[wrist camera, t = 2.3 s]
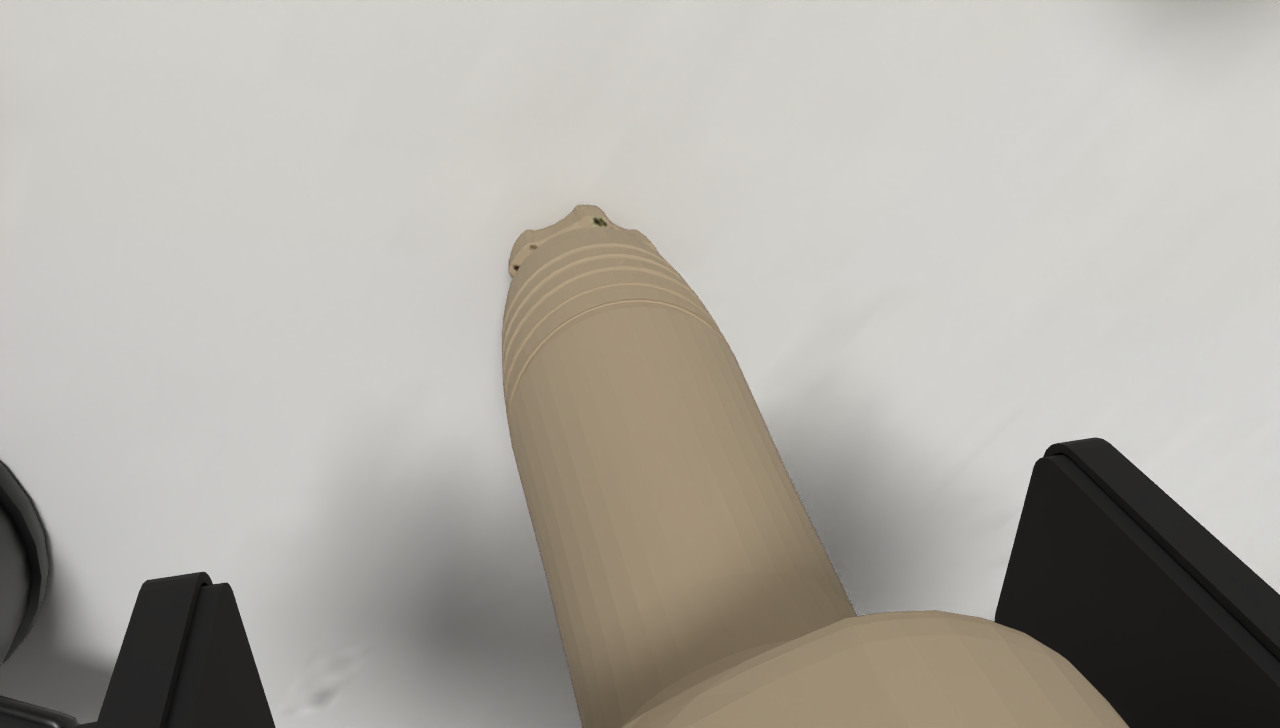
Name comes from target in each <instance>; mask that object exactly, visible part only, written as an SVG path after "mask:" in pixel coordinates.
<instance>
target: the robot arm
mask: <svg viewBox="0 0 1280 728" xmlns="http://www.w3.org/2000/svg"><path fill="white" fill-rule="evenodd" d="M995 623H998V624H1001V625H1004V626H1006V627H1009V628H1012V629H1015V630H1018V631H1021V632H1023V633H1026V634H1027V635H1029V636H1031V637H1032V638H1034V639H1036V640H1037V641H1039V642H1040V643H1042V644H1044V645H1045V646H1047V647H1049V648H1050V649H1052V650H1054V651H1055V652H1057V653H1059V654H1060V655H1061V656H1063V657H1064V658H1065V659H1067V660H1068V661H1069V662H1070V663H1071V664H1072V665H1073V666H1074V667H1075V668H1076V669H1077V670H1078V671H1079V672H1080V673H1081V674H1082V675H1083V676H1084V677H1085V678H1086V679H1087V680H1088V681H1089V682H1090V683H1091V684H1092V685H1093V687H1094V688H1095V689H1096V690H1097V691H1098V692H1099V693H1100V694H1101V695H1102V696H1103V697H1104V698H1105V699H1106V700H1107V701H1108V702H1109V703H1110V705H1111V706H1112V707H1113V708H1114V709H1115V711H1116V712H1117V713H1118V714H1119V715H1120V717H1121V718H1122V719H1123V720H1124V722H1125V723H1126V724H1127V725H1128V726H1129V728H1280V595H1279V594H1278V593H1277V592H1276V591H1275V590H1274V589H1273V588H1271V587H1270V586H1269V585H1268V584H1267V583H1266V582H1265V581H1264V580H1262V579H1261V578H1260V577H1259V576H1258V575H1257V574H1256V573H1255V572H1253V571H1252V570H1251V569H1250V568H1249V567H1248V566H1247V565H1246V564H1244V563H1243V562H1242V561H1241V560H1240V559H1239V558H1238V557H1237V556H1236V555H1234V554H1233V553H1232V552H1231V551H1230V550H1229V549H1228V548H1227V547H1225V546H1224V545H1223V544H1222V543H1221V542H1220V541H1219V540H1218V539H1216V538H1215V537H1214V536H1213V535H1212V534H1211V533H1210V532H1209V531H1208V530H1206V529H1205V528H1204V527H1203V526H1202V525H1201V524H1200V523H1199V522H1197V521H1196V520H1195V519H1194V518H1193V517H1192V516H1191V515H1190V514H1188V513H1187V512H1186V511H1185V510H1184V509H1183V508H1182V507H1181V506H1179V505H1178V504H1177V503H1176V502H1175V501H1174V500H1173V499H1172V498H1171V497H1169V496H1168V495H1167V494H1166V493H1165V492H1164V491H1163V490H1162V489H1160V488H1159V487H1158V486H1157V485H1156V484H1155V483H1154V482H1153V481H1151V480H1150V479H1149V478H1148V477H1147V476H1146V475H1145V474H1144V473H1143V472H1141V471H1140V470H1139V469H1138V468H1137V467H1136V466H1135V465H1134V464H1132V463H1131V462H1130V461H1129V460H1128V459H1127V458H1126V457H1125V456H1123V455H1122V454H1121V453H1120V452H1119V451H1118V450H1117V449H1116V448H1115V447H1113V446H1112V445H1111V444H1110V443H1108V442H1107V441H1105V440H1104V439H1101V438H1089V439H1083V440H1076V441H1069V442H1063V443H1057V444H1053V445H1051V446H1050V447H1049V448H1048V449H1047V450H1046V452H1045V454H1044V457H1043V458H1040V459H1039V460H1038V461H1037V462H1036V463H1035V465H1034V468H1033V472H1032V476H1031V479H1030V483H1029V487H1028V491H1027V495H1026V498H1025V502H1024V506H1023V510H1022V514H1021V518H1020V521H1019V525H1018V529H1017V533H1016V537H1015V541H1014V544H1013V548H1012V552H1011V556H1010V560H1009V564H1008V567H1007V571H1006V575H1005V579H1004V583H1003V586H1002V590H1001V594H1000V598H999V602H998V606H997V609H996V614H995ZM69 728H275V724H274V721H273V718H272V715H271V712H270V709H269V705H268V702H267V699H266V696H265V693H264V689H263V686H262V683H261V680H260V677H259V673H258V670H257V667H256V664H255V661H254V658H253V654H252V651H251V648H250V645H249V642H248V638H247V635H246V632H245V629H244V626H243V623H242V619H241V616H240V613H239V610H238V607H237V603H236V600H235V597H234V594H233V591H232V588H231V586H230V585H229V584H228V583H220V584H213V583H212V581H211V579H210V577H209V575H208V574H207V573H206V572H199V573H192V574H185V575H179V576H172V577H165V578H159V579H152V580H147V581H146V582H144V583H143V585H142V587H141V589H140V591H139V594H138V597H137V600H136V603H135V606H134V609H133V612H132V615H131V619H130V622H129V625H128V628H127V631H126V634H125V637H124V640H123V643H122V646H121V650H120V653H119V656H118V659H117V662H116V665H115V668H114V671H113V674H112V677H111V680H110V684H109V687H108V690H107V693H106V696H105V699H104V702H103V705H102V708H101V711H100V714H99V718H98V721H97V722H92V723H86V724H81V725H76V726H72V727H69Z"/></svg>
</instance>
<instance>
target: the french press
mask: <svg viewBox="0 0 1280 728" xmlns="http://www.w3.org/2000/svg"><path fill="white" fill-rule="evenodd" d="M48 571H49V560H48V554H47V548H46V543H45V537H44V531H43V529H42V527H41V524H40V522H39V520H38V518H37V515H36V513H35V511H34V509H33V506H32V504H31V502H30V500H29V498H28V497H27V495H26V494H25V493H24V491H23V490H22V489H21V487H20V486H19V485H18V483H17V482H16V481H15V479H14V478H13V477H12V475H11V474H10V473H9V471H8V470H7V469H6V467H5V466H4V465H3V464H2V463H1V462H0V666H1V664H2V663H4V662H5V661H6V660H7V659H9V657H10V656H11V655H12V654H13V652H14V651H15V650H16V649H17V648H18V646H19V645H20V644H21V643H22V641H23V640H24V639H25V638H26V636H27V635H28V634H29V632H30V630H31V628H32V626H33V624H34V622H35V620H36V617H37V615H38V613H39V610H40V608H41V606H42V603H43V601H44V599H45V596H46V588H47V579H48ZM76 725H79V723H78V722H77V720H76V718H74V717H72V716H70V715H67V714H64V713H61V712H58V711H54V710H50V709H47V708H43V707H40V706H36V705H32V704H29V703H25V702H21V701H18V700H14V699H11V698H7V697H3V696H0V728H69V727H72V726H76Z"/></svg>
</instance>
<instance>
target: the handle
mask: <svg viewBox="0 0 1280 728" xmlns="http://www.w3.org/2000/svg"><path fill="white" fill-rule="evenodd" d="M509 273H510V275H511V276H512V277H513V279H512V282H511V285H510V288H509V291H508V296H507V301H506V305H505V311H504V317H503V330H502V365H503V386H504V397H505V404H506V412H507V419H508V425H509V430H510V438H511V443H512V448H513V452H514V456H515V460H516V463H517V467H518V471H519V475H520V479H521V482H522V486H523V490H524V494H525V498H526V501H527V505H528V509H529V513H530V517H531V520H532V524H533V528H534V532H535V536H536V539H537V543H538V547H539V551H540V555H541V558H542V562H543V566H544V570H545V574H546V577H547V581H548V586H549V590H550V594H551V598H552V602H553V606H554V610H555V615H556V619H557V623H558V627H559V631H560V635H561V640H562V644H563V648H564V652H565V656H566V660H567V664H568V669H569V673H570V677H571V681H572V685H573V689H574V693H575V698H576V702H577V706H578V710H579V714H580V718H581V723H582V727H583V728H1129V726H1128V725H1127V724H1126V723H1125V722H1124V720H1123V719H1122V718H1121V717H1120V715H1119V714H1118V713H1117V712H1116V711H1115V709H1114V708H1113V707H1112V706H1111V705H1110V703H1109V702H1108V701H1107V700H1106V699H1105V698H1104V697H1103V696H1102V695H1101V694H1100V693H1099V692H1098V691H1097V690H1096V689H1095V688H1094V687H1093V685H1092V684H1091V683H1090V682H1089V681H1088V680H1087V679H1086V678H1085V677H1084V676H1083V675H1082V674H1081V673H1080V672H1079V671H1078V670H1077V669H1076V668H1075V667H1074V666H1073V665H1072V664H1071V663H1070V662H1069V661H1068V660H1067V659H1065V658H1064V657H1063V656H1061V655H1060V654H1059V653H1057V652H1055V651H1054V650H1052V649H1050V648H1049V647H1047V646H1045V645H1044V644H1042V643H1040V642H1039V641H1037V640H1036V639H1034V638H1032V637H1031V636H1029V635H1027V634H1026V633H1023V632H1021V631H1018V630H1015V629H1012V628H1009V627H1006V626H1004V625H1001V624H998V623H995V622H992V621H989V620H986V619H984V618H979V617H973V616H967V615H961V614H954V613H948V612H942V611H936V610H933V611H905V612H886V613H876V614H870V615H863V616H857V615H856V613H855V611H854V609H853V607H852V605H851V603H850V601H849V599H848V597H847V595H846V593H845V590H844V588H843V586H842V584H841V582H840V580H839V578H838V576H837V574H836V572H835V570H834V568H833V566H832V564H831V562H830V560H829V558H828V555H827V553H826V551H825V549H824V547H823V545H822V543H821V541H820V539H819V537H818V535H817V533H816V531H815V529H814V527H813V525H812V523H811V521H810V518H809V516H808V514H807V512H806V510H805V508H804V506H803V504H802V502H801V500H800V498H799V496H798V494H797V492H796V490H795V488H794V486H793V483H792V481H791V479H790V477H789V475H788V473H787V471H786V468H785V466H784V464H783V462H782V460H781V457H780V455H779V453H778V451H777V448H776V446H775V444H774V442H773V440H772V437H771V435H770V433H769V431H768V428H767V426H766V424H765V422H764V420H763V417H762V415H761V413H760V411H759V408H758V406H757V404H756V402H755V400H754V397H753V395H752V393H751V391H750V389H749V386H748V384H747V382H746V380H745V377H744V375H743V373H742V371H741V369H740V366H739V364H738V362H737V360H736V357H735V355H734V354H733V352H732V351H731V349H730V346H729V345H728V343H727V341H726V340H725V338H724V336H723V334H722V333H721V332H720V330H719V328H718V326H717V325H716V323H715V321H714V320H713V318H712V317H711V315H710V314H709V312H708V311H707V309H706V308H705V306H704V305H703V303H702V302H701V300H700V299H699V298H698V296H697V295H696V294H695V292H694V291H693V290H692V289H691V288H690V286H689V285H688V284H687V283H686V281H685V280H684V279H683V278H682V277H681V276H680V274H679V273H678V272H677V271H676V270H675V269H674V268H673V267H672V266H671V265H670V264H669V263H668V262H667V261H666V260H665V259H664V258H663V257H662V256H661V255H660V254H659V252H658V251H657V249H656V248H655V247H654V245H653V244H652V243H651V242H650V241H649V239H648V238H647V237H646V236H645V235H643V234H642V233H641V232H639V231H637V230H627V229H623V228H621V227H619V226H617V225H615V224H614V223H612V222H611V221H610V220H609V219H608V218H607V216H606V215H605V213H604V212H603V211H602V210H601V209H600V208H598V207H597V206H592V205H578V206H576V207H575V208H574V210H573V212H571V213H570V214H569V215H568V216H567V217H565V218H564V219H562V220H561V221H559V222H558V223H556V224H554V225H552V226H549V227H547V228H544V229H540V230H536V231H534V230H526V231H525V232H524V233H522V234H521V235H520V237H519V238H518V239H517V240H516V242H515V244H514V246H513V248H512V252H511V255H510V259H509Z"/></svg>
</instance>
